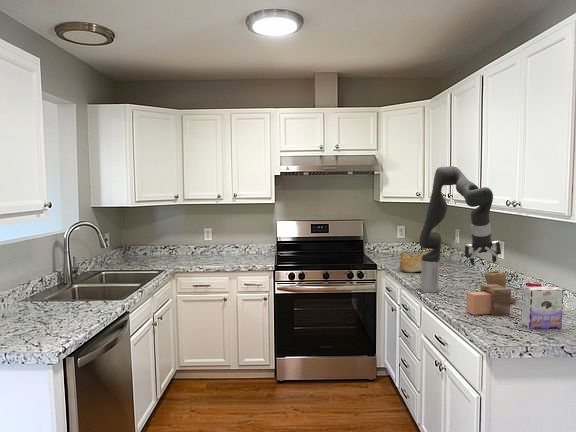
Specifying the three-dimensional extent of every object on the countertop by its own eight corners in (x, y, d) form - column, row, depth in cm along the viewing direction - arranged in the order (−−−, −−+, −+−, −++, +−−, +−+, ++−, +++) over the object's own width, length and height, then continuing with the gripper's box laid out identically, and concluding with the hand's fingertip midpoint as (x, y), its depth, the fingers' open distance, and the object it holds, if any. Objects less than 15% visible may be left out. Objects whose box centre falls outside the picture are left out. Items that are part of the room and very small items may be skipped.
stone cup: (480, 295, 212) (481, 268, 211) (503, 296, 211) (504, 268, 210) (492, 303, 197) (493, 274, 196) (517, 304, 196) (518, 274, 195)
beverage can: (526, 303, 197) (528, 280, 197) (541, 306, 194) (542, 282, 193) (524, 306, 193) (526, 282, 192) (539, 309, 189) (541, 284, 188)
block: (466, 311, 183) (466, 292, 182) (496, 309, 186) (496, 290, 185) (473, 314, 178) (474, 295, 177) (503, 312, 181) (504, 293, 181)
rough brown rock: (430, 270, 281) (429, 249, 281) (436, 273, 264) (435, 251, 265) (396, 270, 283) (396, 250, 284) (400, 273, 267) (400, 251, 267)
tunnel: (479, 309, 187) (480, 284, 186) (494, 308, 189) (495, 283, 188) (494, 316, 177) (495, 289, 177) (509, 315, 179) (511, 289, 178)
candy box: (551, 323, 168) (554, 285, 167) (561, 328, 162) (564, 289, 161) (520, 323, 167) (522, 285, 166) (529, 328, 162) (531, 289, 160)
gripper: (496, 225, 171) (498, 256, 177) (461, 229, 175) (464, 260, 181) (501, 233, 165) (503, 265, 171) (465, 237, 169) (467, 269, 175)
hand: (483, 263), depth 176 cm, fingers open, 8 cm apart
